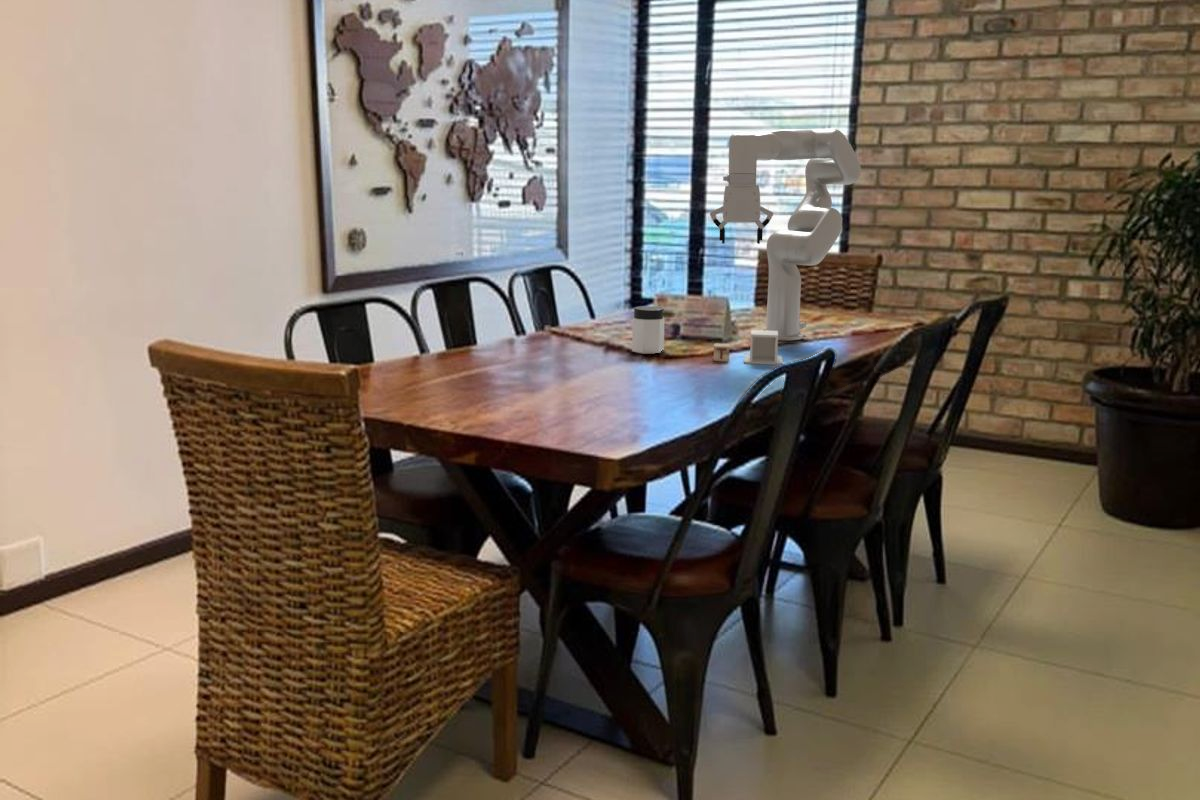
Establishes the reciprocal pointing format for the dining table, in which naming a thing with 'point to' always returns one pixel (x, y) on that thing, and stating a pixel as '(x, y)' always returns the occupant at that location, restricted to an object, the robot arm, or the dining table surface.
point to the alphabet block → (764, 344)
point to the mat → (762, 360)
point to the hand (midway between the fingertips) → (740, 243)
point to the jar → (648, 330)
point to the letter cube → (721, 352)
